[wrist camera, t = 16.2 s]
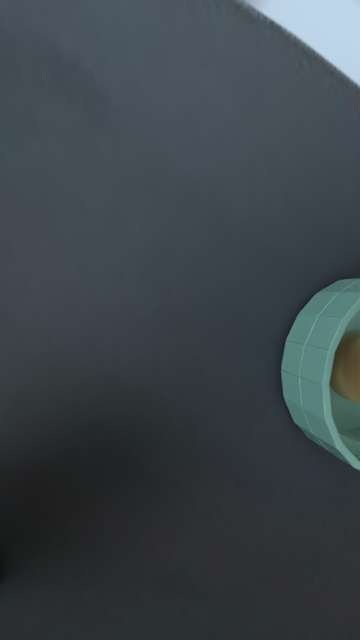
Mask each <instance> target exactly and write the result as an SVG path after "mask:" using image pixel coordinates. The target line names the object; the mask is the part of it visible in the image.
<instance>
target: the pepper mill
mask: <svg viewBox="0 0 360 640" xmlns="http://www.w3.org/2000/svg"><path fill="white" fill-rule="evenodd" d="M329 384H330V386H331V388H332V389H333V390H334V392H335V393H336V394H338V395H339V396H341V397H343V398H345V399H348V400H350V401H353V402H355V403H358V404H360V331H352V332H349V333H347V334H345V335H343V336H342V338H341V340H340V342H339V345H338V347H337V349H336V351H335V355H334V361H333V366H332V372H331V377H330V383H329Z"/></svg>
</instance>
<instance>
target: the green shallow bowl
mask: <svg viewBox="0 0 360 640" xmlns="http://www.w3.org/2000/svg"><path fill="white" fill-rule="evenodd" d="M352 331H360V277H354V278H348V279H342V280H338V281H336V282H335V283H333V284H331V285H329V286H328V287H326V288H324V289H323V290H321V291H319V292H318V293H316V294H315V295H314V296H313V298H312V299H311V300H310V301H309V302H308V303H307V304H306V306H305V307H304V308H303V309H302V310H301V311H300V312H299V314H298V315H297V317H296V319H295V322H294V324H293V326H292V328H291V330H290V332H289V334H288V336H287V339H286V342H285V347H284V353H283V359H282V365H281V377H282V387H283V397H284V400H285V402H286V404H287V407H288V409H289V411H290V414H291V416H292V418H293V421H294V423H295V424H296V425H297V426H298V427H299V428H300V429H301V430H302V431H303V432H304V433H305V435H306V436H307V437H308V438H309V439H310V440H312V441H314V442H315V443H317V444H318V445H320V446H321V447H323V448H324V449H326V450H327V451H329V452H331V453H332V454H334V455H335V456H337V457H338V458H340V459H341V460H343V461H344V462H346V463H348V464H349V465H351V466H352V467H354V468H355V469H358V470H360V404H358V403H355V402H353V401H350V400H348V399H345V398H343V397H341V396H339V395H338V394H336V393H335V392H334V390H333V389H332V388H331V386H330V384H329V383H330V377H331V372H332V366H333V361H334V355H335V351H336V349H337V347H338V345H339V342H340V340H341V338H342V336H343V335H345V334H347V333H349V332H352Z"/></svg>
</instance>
